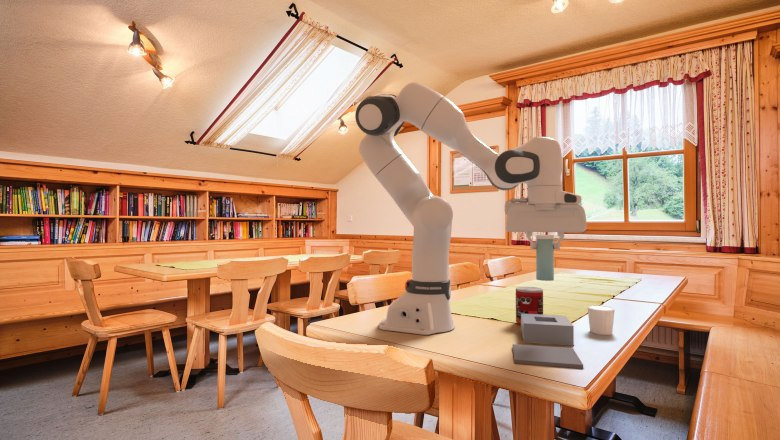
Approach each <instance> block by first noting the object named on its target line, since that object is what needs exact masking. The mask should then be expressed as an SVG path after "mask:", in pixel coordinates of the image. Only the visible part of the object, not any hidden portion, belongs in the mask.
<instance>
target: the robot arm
mask: <svg viewBox="0 0 780 440" xmlns="http://www.w3.org/2000/svg"><path fill="white" fill-rule="evenodd" d="M354 118H355V122H356V125H357V126H358V128H359V129H360V131H362V132H363V133H364V134H365V136H364V137H363V138H362V139H361V140H360V143H359V146H358V150H359V154H360V156H361V158H362V160H363V161H364V163H365V164H366V166H367V168H368V170H370V172H371V173H372V175H373V176H374V177H375V178H376V180H377V181H378V182H379V183H380V185H381V186H382V187H383V189H385V192H387V194H388V195H389V196H390V197H391V199H393V201H394V202H395V204H396V205H397V207H398V208H399V210H401V212H402V214H403V215H404V217H406V219H407V220H408V221H409V223H410V224H411V225H412V227H413V235H412V237H413V238H412V250H411V278H408V279H407V280H406V282H405V283H404V289H405V292H404V293H402V294H401V295H400V296H399V297H397V298H396V299H395V300H394V301H392V302H391V303H390V304H389V305H388V309H387V312H386V317H385V318H383V319H382V320H380V322H379V324H378V328H379V329H380V330H384V331H390V332H392V331H393V332H397V333H398V332H399V333H407V334H416V335H422V336H423V335H424V336H429V335H432V334H433V335H434V334H437V333H445V332H449V331H452V330H453V329H455V323H454V320H453V316H452V311H451V310H452V309H451V301H450V299H451V295H452V294H451V293H452V284H451V280H450V277H449V275H450V262H449V261H450V258H449V257H450V245H451V237H452V228H453V226H452V225H453V218H454V213H453V212H454V211H453V207H452V206H451V204H450V203H449V202H448V201H447V200H446V199H445V198H444V197H442V196H439V195H434V194H433V192H432V191H431V189H430V188H429V186H428V185H427V183H426V181H425V180H424V178H423V177H422V175H421V173H420V171H418V169H417V168H416V167H415V166H414V164H413V163H412V161H410V159H409V158H408V157H407V155H406V154H405V153H404V152H403V151H402V149H401V148H400V147H399V145H398V144H397V143H396V140H395V137H396V136H397V135H398V134H399V132H400V131H401V128H402V127H403V126H404V124H405V123H409V124H411V125H413V126H415V127H416V128H417V129H418V130H419V131H421V132H423V133H424V134H425V135H427V136H429V137H431V138H432V139H434V140H435V141H437V142H440V143H442V144H443V145H445V146H447V147H448V148H451V149H453V150H454V151H456V152H458V153H459V154H460V155H462V156H463V157H465V158H466V160H469V161H470V162H471V163H473V164H474V165H475V166H476V167H478V168H479V169H480V170H481V171H482V172H483V173H484V175H485V176H486V177H487V179H488V181H489V182H490V184H491V186H493V187H494V188H496V189H498V190H500V191H511V190H514V189H516V188H517V187H518V186H519V185H520V184H526V187H527V192H526V193H527V194H526V195H527V198H526V197H523V198H522V197H521V198H510V199H508V200H507V201H505V203H504V213H505V215H506V219H505V220H506V221H505V229H506V231H507V232H508V233H525V236H526V238H527V240H528V241H529V243H530V244H529V245H530V250H536V249H537V247H536V245H537V243H536V241H535V242H534V241H533V239H532V238H531V237H533V233H557V237H558V239H557V240H556V242H554V250H556V251H557V250H560V248H561V246H560V245H561V242H562V241H563V240H564V238H565V233H584V232H585V231H586V230H587V215H586V211H585V210H586V209H585V208H584V206H582V205H581V202H582V196H581V195H579V194H575V193H572V192H568V191H564V190H563V182H562V179H561V177H562V174H563V157H562V156H563V155H562V154H563V153H562V148H561V145H560V143H559V141H558V140H557V139H554V138H552V137H549V136H548V137H547V136H534V137H532V138H530V139H529V140H528V141H526V142H525V143H523V144H521V145H519V146H517V147H514V148H511V149H508V150H505V151H502V152H501V153H500V154H499V153H498V152H496V151H494V150H493V149H491V148H490V147H489V146H487V145H486V144H485V143H484V142H482V141H481V140H480V139H478V138H477V137H476V136H475V135H474V134H473V132H472V130H471V129H470V127H469V126H468V123H467V120H466V118H465V114H464V113H463V111H462V110H461V109H460V108H459V107H458V106H457V105H455V103H454V102H453V101H452V100H450V99H449V98H447V97H446V96H444V95H443V94H441V93H440V92H438V91H436V90H435V89H433V88H431V87H428V86H426V85H425V84H421V83H419V82H417V81H415V82H414V81H412V82H409V83H408V84H406V85H405V86H404V87H403V88H401V90H400V92H399V93H398V94H397V95H395V94H389V93H387V94H386V93H384V94H383V93H382V94H381V93H380V94H377V95H372V96H368V97H366V98H365V99H363V100H362V101H361V102H360V103H359V104H358V105H357V107H356V109H355V116H354Z"/></svg>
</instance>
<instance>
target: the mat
mask: <svg viewBox="0 0 780 440" xmlns="http://www.w3.org/2000/svg"><path fill="white" fill-rule="evenodd" d="M512 353H513V360H514V364H519V365H520V364H521V365H532V366H533V365H534V366H544V367H546V366H547V367H560V368H569V369H570V368H571V369H582V370H583V369H584V363H583V362H582V360H581V359H580V357H579V356H578V354H577V352H576V350H575V349H574V348H572V347H562V346H561V347H559V346H558V347H557V346H547V345H546V346H545V345H543V346H542V345H530V344H516V343H515V344H514V343H512Z"/></svg>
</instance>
